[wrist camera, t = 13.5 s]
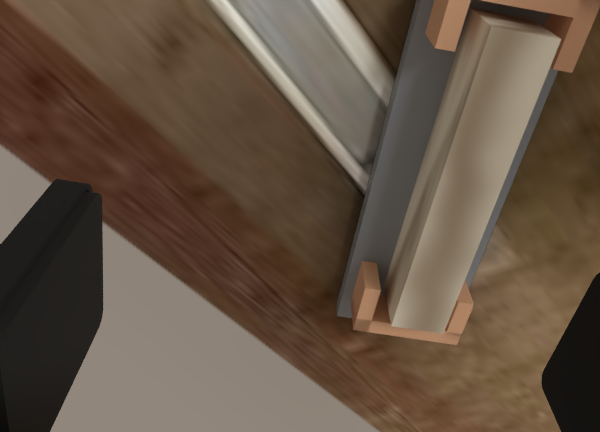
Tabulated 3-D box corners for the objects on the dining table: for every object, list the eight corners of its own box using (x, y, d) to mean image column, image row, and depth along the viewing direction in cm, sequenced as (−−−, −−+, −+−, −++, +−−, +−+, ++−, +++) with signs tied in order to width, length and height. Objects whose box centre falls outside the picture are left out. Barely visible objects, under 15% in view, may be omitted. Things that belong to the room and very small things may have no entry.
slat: (531, 18, 36) (561, 39, 32) (431, 291, 47) (443, 333, 43) (470, 7, 36) (491, 26, 31) (384, 284, 47) (391, 326, 43)
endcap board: (593, -45, 35) (631, -33, 31) (447, 320, 51) (459, 362, 46) (435, -75, 35) (452, -68, 30) (336, 304, 50) (338, 345, 46)
